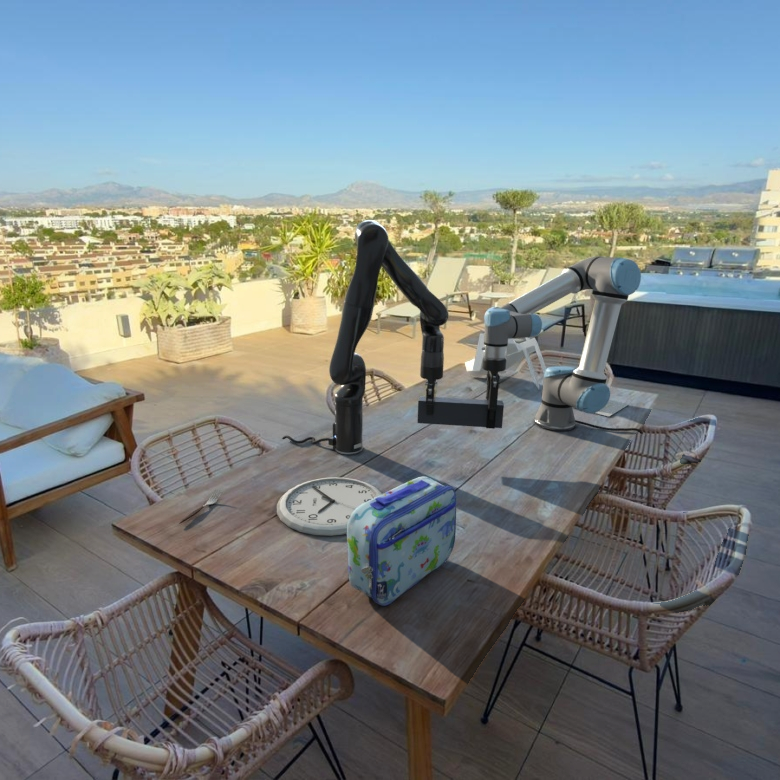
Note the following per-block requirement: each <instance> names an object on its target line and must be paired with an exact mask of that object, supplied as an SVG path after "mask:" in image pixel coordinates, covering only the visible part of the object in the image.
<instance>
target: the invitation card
mask: <svg viewBox="0 0 780 780" xmlns="http://www.w3.org/2000/svg"><path fill="white" fill-rule="evenodd" d="M628 406H629V404H627V403H623V402H618V401H614V400H610V399H609V401H608V403H607V404H606V405H605V407H604V408H603V409H601V410H600V411H598V412H596V413H595V414H596V415H600V416H604V417H608V418H609V417H611V416H613V415H614V414H616V413H617V412H619V411H621V410H623V409H624V408H626V407H628Z"/></svg>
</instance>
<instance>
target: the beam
mask: <svg viewBox="0 0 780 780" xmlns="http://www.w3.org/2000/svg"><path fill="white" fill-rule="evenodd" d="M428 401H432V399H428ZM488 402H489V400H487V399H480V398H477V399H476V398H462V397H461V398H460V397H440V396H436V397H435V398H434V405H433V415H427V414H426V408H427V405H426V397H425V395H423V396H421V395H419V397H418V400H417V424H425V425H426V424H427V425H440V426H441V425H443V426H459V427H475V428H486V422H487V410H486V408H488ZM504 408H505V404H504V400H498V399H497V410H496V416H495V429H502V428H503V420H504Z"/></svg>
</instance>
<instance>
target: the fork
mask: <svg viewBox="0 0 780 780" xmlns="http://www.w3.org/2000/svg"><path fill="white" fill-rule="evenodd" d="M222 493H223V491H221V490H219V489H217V490H216V489H215V490H214V492H213V493H212V495H211V496H210V498H209V499H208V500H207V501H206V502H205V504H203V505H202V506H200V507H198V508H196V509H194V510H192V512H191V513H189V514H188V515H187V516H186V517H185V518H183V519H182V520H181V521H180V522H179V523H178V525H180V524H182V523H184V522H186V521H187V520H189V519H191V518H192V517H194V516H195V515H197V514H198V513H199V512H201V511H202V510H203V509H204V508H205V507H206V506H210V505H215V504H216V503H217V502H218V500H219V498H220V497H221V495H222Z"/></svg>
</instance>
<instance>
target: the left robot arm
mask: <svg viewBox="0 0 780 780" xmlns="http://www.w3.org/2000/svg"><path fill="white" fill-rule="evenodd" d="M354 240H355V244H356V246H357V247H356V248H357V250H356V260H355V267H354V272H353V274H352V277H351V280H350V281H349V284H348V287H347V289H346V292H345V296H344V300H343V305H342V311H341V317H340V323H339V328H338V333H337V338H336V341H335V345H334V347H333V348H334V349H333V352H332V355H331V357H330V362H329V368H328V369H329V370H328V371H329V376H330V380H331V381H332V382H333V383H334V384H335V385H337V386H340V387H339V389H337V391H336V392H335V394H334V422H333V423H332V436H330V437H323V438H318V439H317V440H316V438H315V437H314V436H308V437H305V438H304V439H302V440H296V439H295V438H292V436H290V435H287V434H286V435H284V436H283V437H282V438H281V440H285V439H288V440H289V441H291V442H292V443H293V444H304V443H306V442H308V441H310V440H311V441H312V444H314V445H316V444H319V443H321V442H327V441H328V446H332V450H333V451H334V452H336V453H338V454H340V455H344V456H353V455H358V454H360V453H361V452H362V451H363V450H364V447H363V445H364V444H363V436H364V435H363V434H364V433H363V427H364V425H363V423H364V422H363V419H364V417H363V416H364V415H363V401H364V400H363V399H364V396H365V392H366V379H367V378H366V377H367V368H366V363H365V360H364V357H362V356H361V355H360V354H359V353H356V350H357V346H358V345H359V343H360V341H361V339H362V338H363V336H364V334H365V333H366V331H367V329H368V327H369V326H370V323H371V322H372V318H373V313H374V309H375V302H376V297H377V291H378V283H379V276H380V273H381V269H383V270H384V271H385V273H386V274H387V275H388V276H389V278H390V279H391V281H392V282H393V283H394V285H395V286H396V287H397V288H398V290H399V291H400V293H402V295H403V296H404V297H405V299H406V300H407V301H408V302H409V304H411V305H412V306H414V307H416V308H417V309H418V310H419V324H420V331H421V336H422V339H421V354H420V368H419V370H420V373H419V377H420V378H421V379H424V380H425V383H424V389H425V391H424V392H425V393H424V397H426V405H427V408H426V414H427V415H433V405H434V398H435V397H437V396H436V395H437V389H438V381H437V380H442V379H443V377H444V364H445V363H444V362H445V360H444V359H445V355H444V348H445V347H444V346H445V336H444V334H443V333H442V331H441V328H440V327H442V326H443V325H445V324H446V323H447V321H448V320H449V316H450V315H449V310H448V308H447V307H446V305H445V304H444V303H443V302H442V301H441V300H440V299H439V298H438V297H437V296H436V295H435V294H434V293H433V292H432V291H430V289H429V288H428V287H427V285H426V284H425V283H424V282H423V280H422V279H421V278H420V276H419V275H418V274H417V273H416V272H415V271H414V270H413V269H412V268H411V266H409V264H407V262H406V261H405V260H404V259H403V258H402V257H401V255H400V254H399V253H398V251H396V249H395V247H394V246H393V245H392V243H391V241H390V240H389V235H388V232H387V230H386V228H385V227H384V226H383V225H382V224H381V223H380V222H378V221H376V220H372V219H368V220H363V221H362V222H360V223H359V224H358V225H357V226H356V228H355V232H354ZM426 380H427V381H426ZM428 399H432V401H428Z"/></svg>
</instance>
